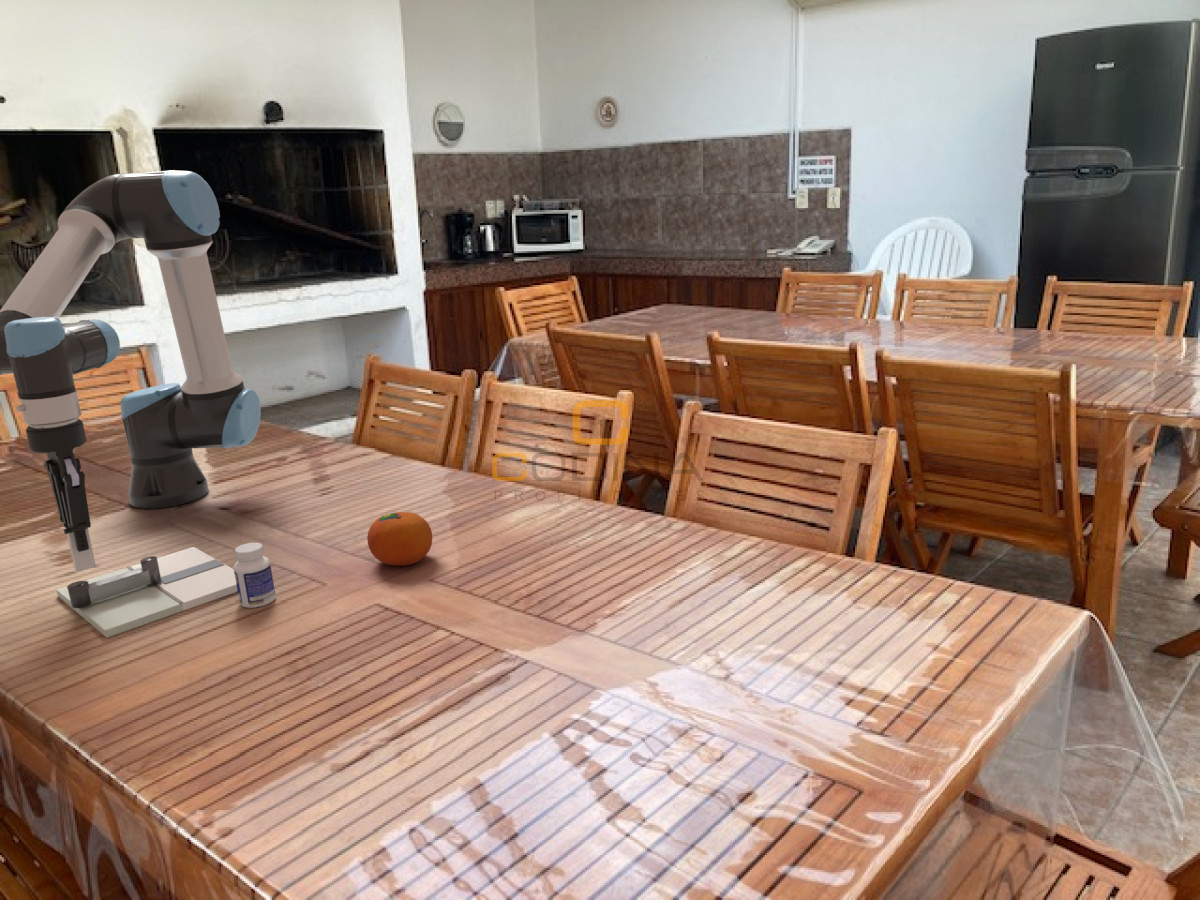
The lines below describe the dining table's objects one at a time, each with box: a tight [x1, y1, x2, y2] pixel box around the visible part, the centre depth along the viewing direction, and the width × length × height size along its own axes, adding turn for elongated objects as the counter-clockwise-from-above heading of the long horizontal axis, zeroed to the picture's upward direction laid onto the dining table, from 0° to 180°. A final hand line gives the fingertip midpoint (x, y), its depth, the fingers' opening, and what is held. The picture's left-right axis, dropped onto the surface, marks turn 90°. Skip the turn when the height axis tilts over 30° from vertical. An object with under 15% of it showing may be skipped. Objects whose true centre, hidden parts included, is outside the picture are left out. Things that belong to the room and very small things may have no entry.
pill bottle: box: [233, 542, 277, 609], centre depth 142 cm, size 5×5×9 cm
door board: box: [56, 546, 238, 638], centre depth 149 cm, size 22×22×1 cm
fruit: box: [366, 511, 433, 567], centre depth 155 cm, size 11×10×8 cm
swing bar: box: [66, 555, 162, 608], centre depth 145 cm, size 13×3×4 cm, turn 135°
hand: (85, 567), depth 147 cm, fingers closed
